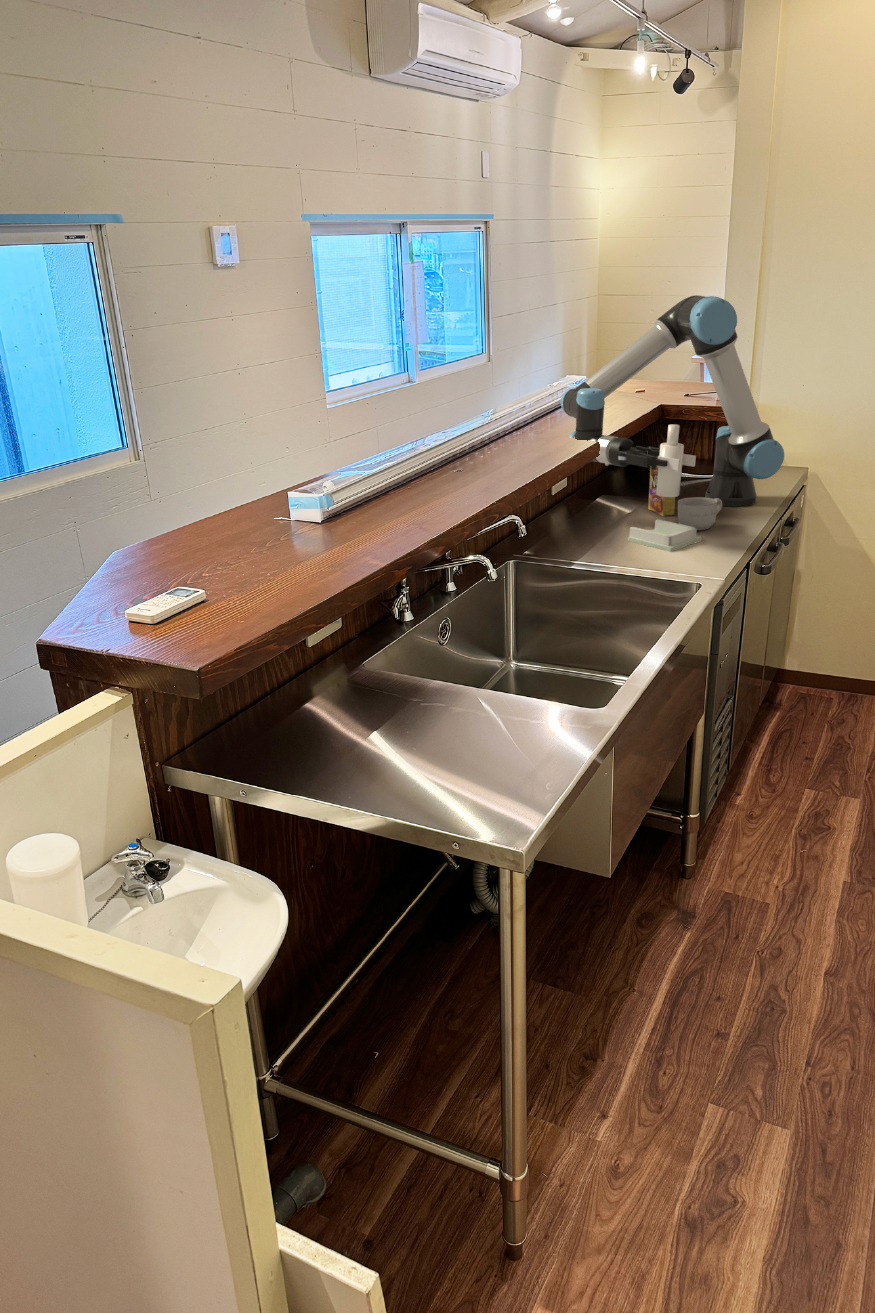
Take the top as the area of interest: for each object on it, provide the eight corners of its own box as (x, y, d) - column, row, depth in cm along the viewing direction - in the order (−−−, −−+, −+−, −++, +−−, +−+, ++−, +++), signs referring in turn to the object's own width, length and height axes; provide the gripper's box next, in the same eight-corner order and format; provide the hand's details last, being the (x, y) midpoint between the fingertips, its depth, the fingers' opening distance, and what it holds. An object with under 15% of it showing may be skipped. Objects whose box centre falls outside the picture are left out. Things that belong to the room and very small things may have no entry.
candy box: (646, 509, 288) (650, 459, 282) (659, 508, 289) (663, 457, 283) (661, 516, 280) (665, 464, 274) (674, 515, 281) (678, 463, 275)
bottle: (664, 490, 256) (671, 422, 248) (683, 494, 252) (690, 425, 244) (651, 494, 252) (657, 425, 245) (670, 498, 248) (677, 428, 241)
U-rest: (658, 530, 266) (659, 518, 264) (701, 540, 256) (702, 528, 255) (627, 540, 257) (628, 528, 256) (670, 551, 248) (671, 538, 246)
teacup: (687, 534, 262) (690, 506, 259) (668, 524, 271) (670, 497, 268) (732, 530, 265) (735, 501, 262) (712, 520, 275) (714, 493, 272)
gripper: (636, 459, 268) (707, 471, 252) (592, 470, 256) (663, 483, 240) (638, 432, 265) (709, 443, 249) (593, 442, 253) (665, 453, 237)
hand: (686, 463), depth 245 cm, fingers closed on bottle, 6 cm apart
